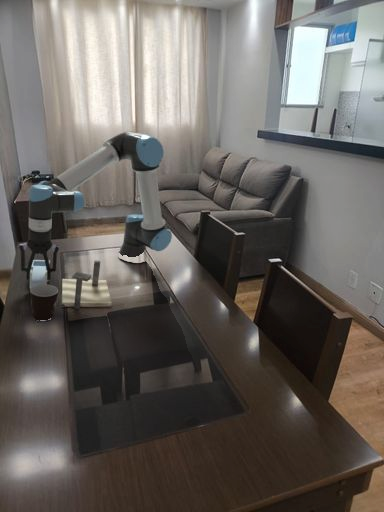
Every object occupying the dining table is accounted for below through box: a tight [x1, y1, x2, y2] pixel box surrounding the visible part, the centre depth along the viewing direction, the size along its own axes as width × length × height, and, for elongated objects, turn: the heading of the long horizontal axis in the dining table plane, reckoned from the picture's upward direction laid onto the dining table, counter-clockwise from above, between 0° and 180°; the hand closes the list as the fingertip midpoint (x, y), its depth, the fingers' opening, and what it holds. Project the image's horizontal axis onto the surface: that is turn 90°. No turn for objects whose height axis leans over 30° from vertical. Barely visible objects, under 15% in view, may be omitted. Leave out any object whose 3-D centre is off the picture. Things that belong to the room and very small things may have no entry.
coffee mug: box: [29, 284, 59, 322], centre depth 121 cm, size 12×9×10 cm
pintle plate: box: [61, 259, 113, 310], centre depth 139 cm, size 22×18×12 cm
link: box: [31, 259, 51, 288], centre depth 139 cm, size 19×7×6 cm, turn 18°
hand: (38, 287), depth 137 cm, fingers closed on link, 4 cm apart
